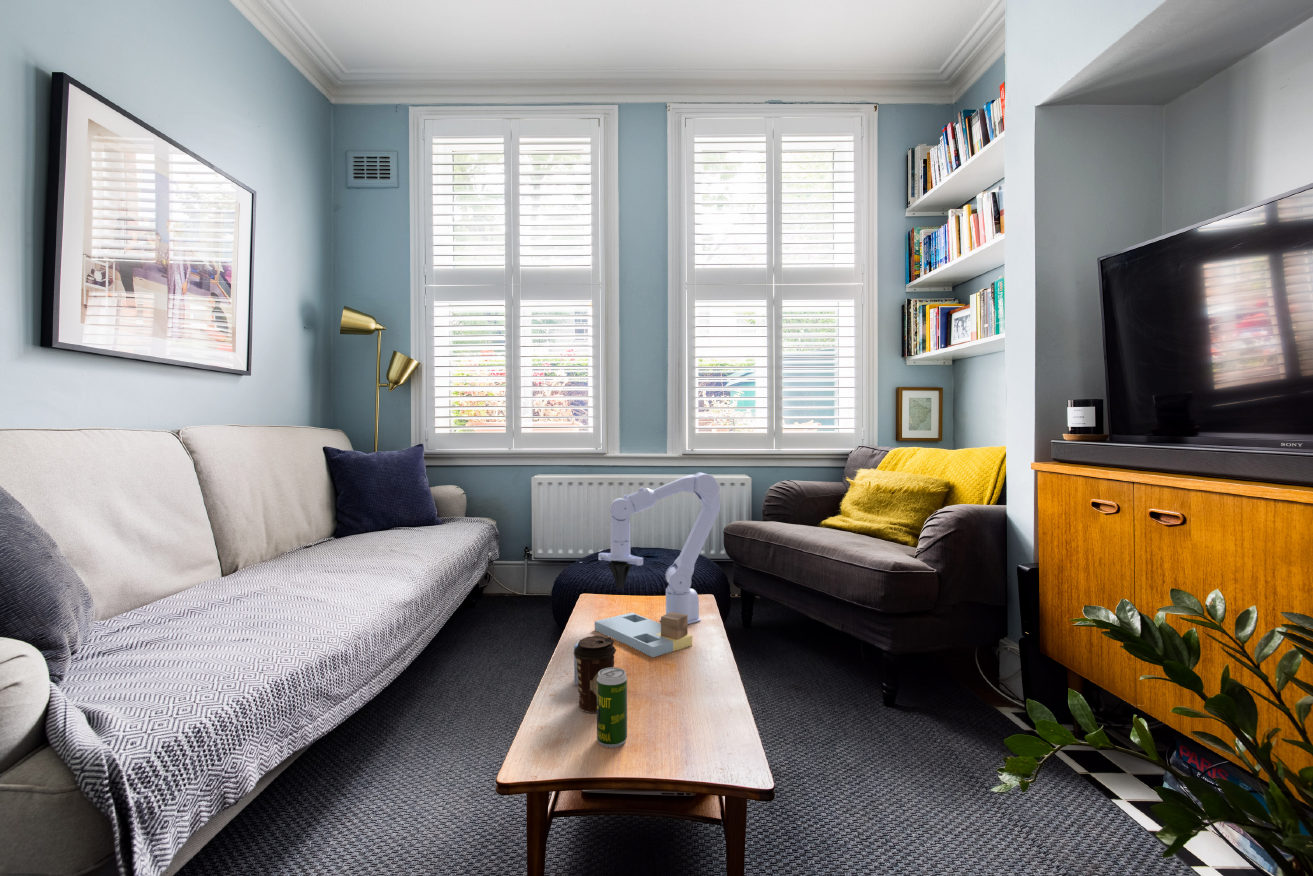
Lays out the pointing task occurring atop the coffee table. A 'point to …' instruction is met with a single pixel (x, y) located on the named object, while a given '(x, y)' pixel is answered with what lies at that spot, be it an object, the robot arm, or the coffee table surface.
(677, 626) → the walnut cube
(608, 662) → the coffee cup
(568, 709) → the coffee table surface
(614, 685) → the green drink can
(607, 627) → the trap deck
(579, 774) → the coffee table surface
